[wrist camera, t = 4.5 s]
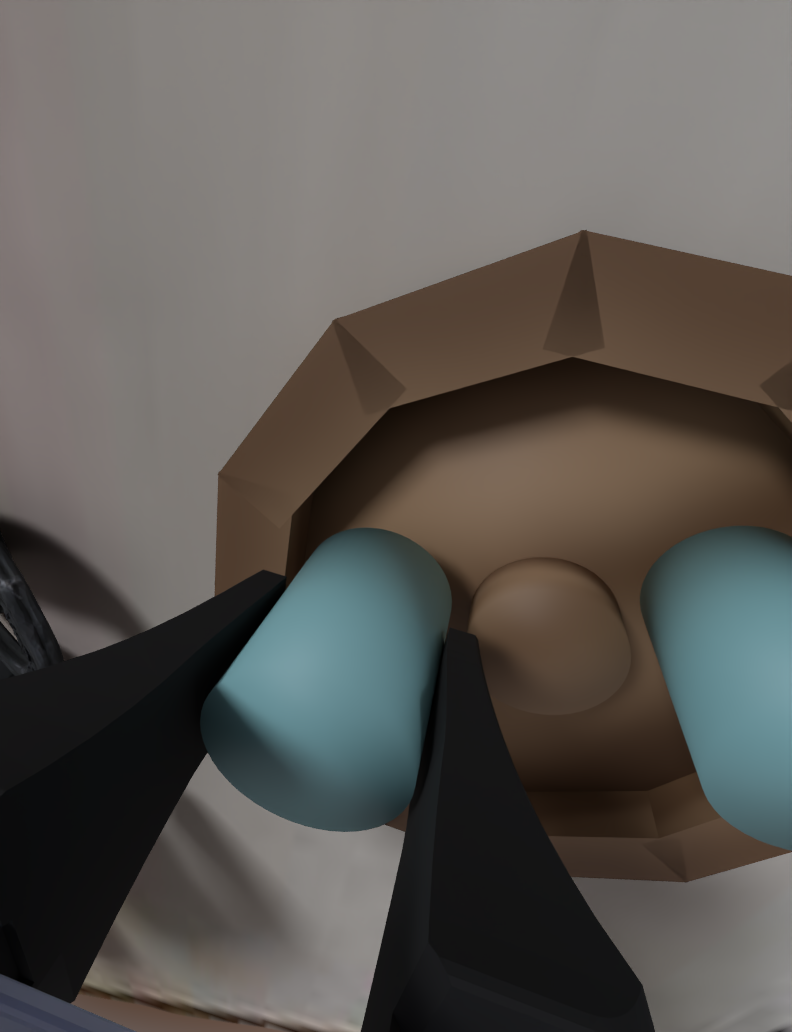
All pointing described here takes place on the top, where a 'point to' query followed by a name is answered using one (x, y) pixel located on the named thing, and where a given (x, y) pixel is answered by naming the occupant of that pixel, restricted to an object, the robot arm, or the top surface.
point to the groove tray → (547, 502)
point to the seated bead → (730, 668)
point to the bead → (336, 685)
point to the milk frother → (22, 624)
